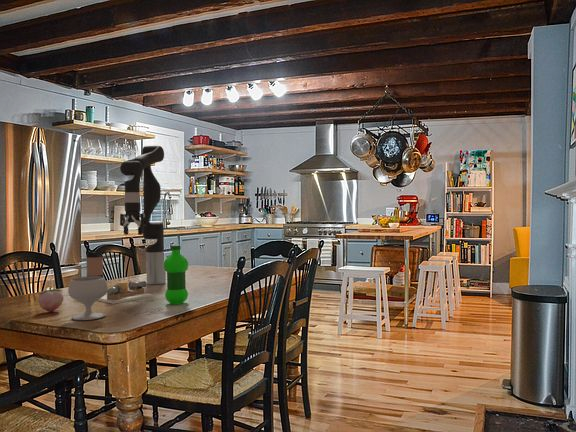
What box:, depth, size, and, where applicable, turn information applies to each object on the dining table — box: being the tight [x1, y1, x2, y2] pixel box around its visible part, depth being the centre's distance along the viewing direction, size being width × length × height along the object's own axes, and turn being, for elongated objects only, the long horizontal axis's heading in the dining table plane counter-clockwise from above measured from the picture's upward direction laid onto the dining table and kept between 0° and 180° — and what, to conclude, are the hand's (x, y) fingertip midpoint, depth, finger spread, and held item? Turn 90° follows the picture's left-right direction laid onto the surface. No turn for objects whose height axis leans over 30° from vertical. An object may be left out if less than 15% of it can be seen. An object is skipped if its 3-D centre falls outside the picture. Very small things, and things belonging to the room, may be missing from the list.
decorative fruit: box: [38, 287, 64, 313], centre depth 210 cm, size 9×8×10 cm
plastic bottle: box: [164, 244, 189, 306], centre depth 224 cm, size 10×10×25 cm
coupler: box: [116, 281, 129, 294], centre depth 239 cm, size 5×5×6 cm
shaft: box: [128, 280, 148, 294], centre depth 245 cm, size 8×5×6 cm, turn 139°
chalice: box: [67, 276, 109, 321], centre depth 198 cm, size 14×14×15 cm
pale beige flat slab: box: [97, 290, 154, 304], centre depth 239 cm, size 20×18×3 cm
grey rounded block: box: [106, 284, 122, 300], centre depth 231 cm, size 8×5×6 cm, turn 174°
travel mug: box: [85, 250, 104, 277], centre depth 257 cm, size 8×8×20 cm
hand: (133, 234), depth 257 cm, fingers open, 8 cm apart
